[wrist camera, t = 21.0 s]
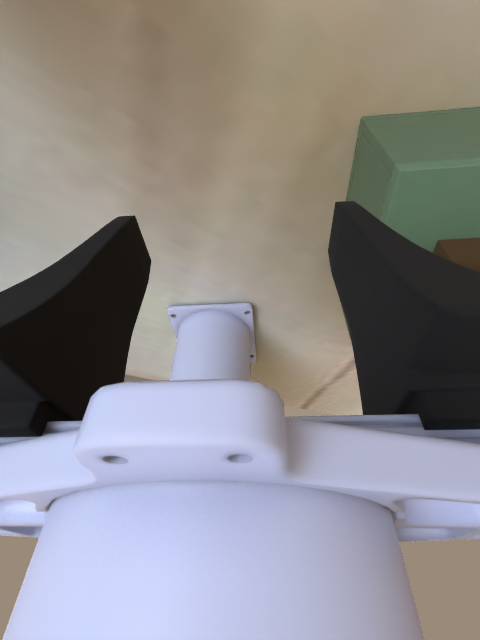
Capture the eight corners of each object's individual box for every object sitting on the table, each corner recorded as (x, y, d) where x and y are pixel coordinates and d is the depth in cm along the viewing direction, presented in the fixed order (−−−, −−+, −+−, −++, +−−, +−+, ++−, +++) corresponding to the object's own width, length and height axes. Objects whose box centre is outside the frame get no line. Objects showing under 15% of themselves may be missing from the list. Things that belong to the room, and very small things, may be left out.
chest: (572, 98, 17) (675, 142, 13) (472, 267, 26) (515, 324, 22) (361, 116, 18) (394, 163, 14) (332, 274, 27) (348, 331, 22)
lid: (697, 141, 13) (714, 147, 12) (527, 324, 22) (534, 332, 21) (394, 163, 14) (399, 170, 13) (348, 331, 22) (350, 339, 22)
